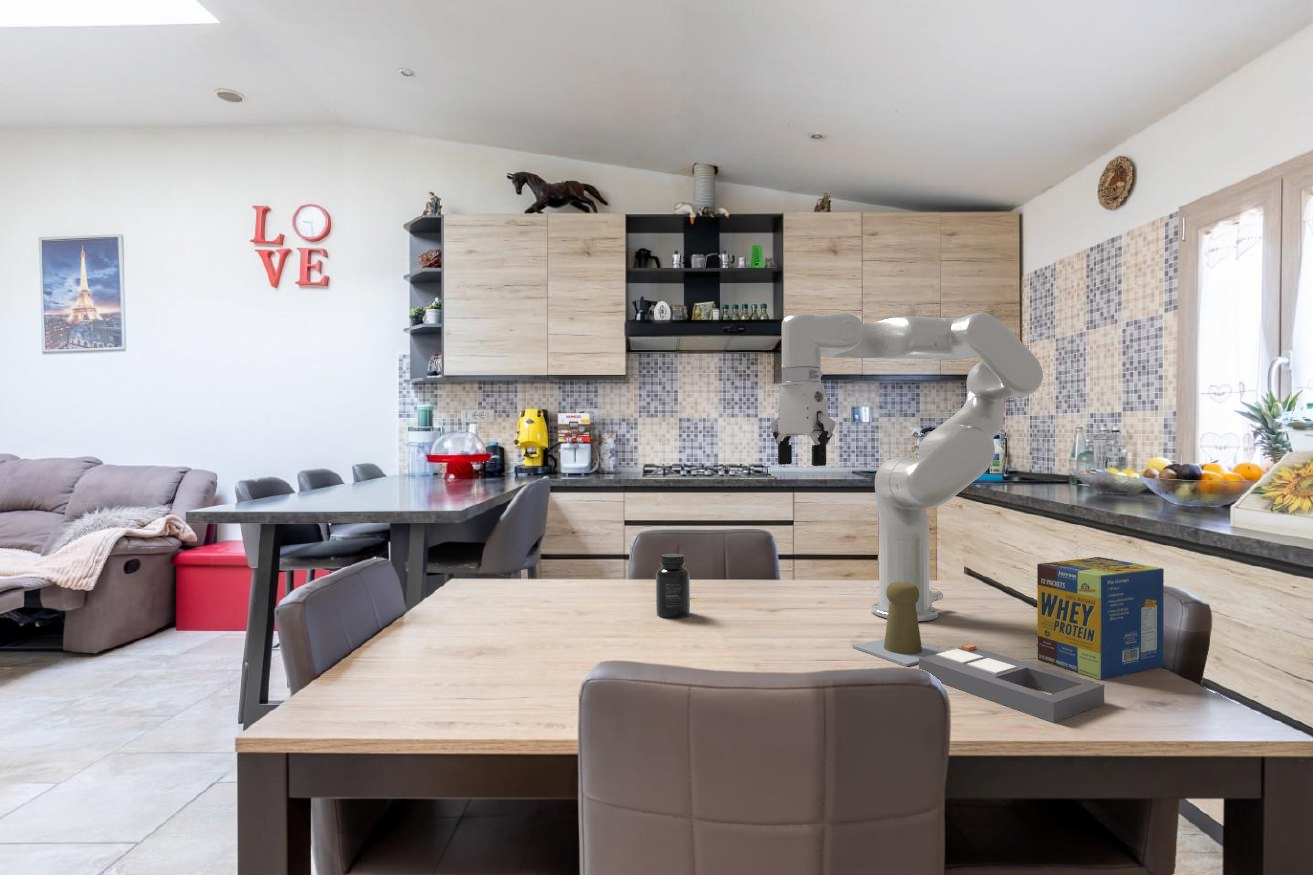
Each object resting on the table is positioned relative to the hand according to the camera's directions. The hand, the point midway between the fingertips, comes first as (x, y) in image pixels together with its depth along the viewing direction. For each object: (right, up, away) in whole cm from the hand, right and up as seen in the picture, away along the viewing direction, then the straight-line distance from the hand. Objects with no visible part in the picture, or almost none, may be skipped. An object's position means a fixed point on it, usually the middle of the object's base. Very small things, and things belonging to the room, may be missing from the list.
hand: (801, 465), depth 134 cm
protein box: (+41, -30, -27) cm, 58 cm away
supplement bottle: (-25, -31, +4) cm, 40 cm away
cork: (+12, -30, -21) cm, 38 cm away
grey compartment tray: (+21, -30, -38) cm, 53 cm away
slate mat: (+12, -30, -21) cm, 39 cm away
